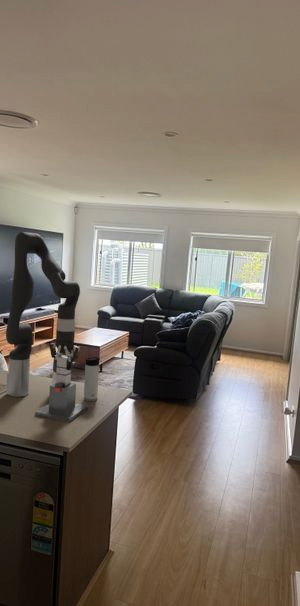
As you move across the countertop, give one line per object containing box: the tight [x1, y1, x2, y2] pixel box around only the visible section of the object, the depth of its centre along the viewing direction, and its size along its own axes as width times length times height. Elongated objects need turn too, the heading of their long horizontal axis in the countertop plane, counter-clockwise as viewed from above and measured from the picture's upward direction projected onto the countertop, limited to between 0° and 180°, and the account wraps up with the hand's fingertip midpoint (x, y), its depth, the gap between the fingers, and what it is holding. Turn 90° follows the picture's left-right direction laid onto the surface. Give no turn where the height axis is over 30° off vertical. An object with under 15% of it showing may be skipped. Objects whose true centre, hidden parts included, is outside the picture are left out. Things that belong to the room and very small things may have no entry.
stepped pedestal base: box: [34, 382, 88, 423], centre depth 175 cm, size 16×16×13 cm
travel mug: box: [83, 356, 101, 402], centre depth 192 cm, size 6×7×20 cm
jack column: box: [56, 355, 72, 387], centre depth 174 cm, size 5×5×18 cm
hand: (63, 368), depth 173 cm, fingers closed on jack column, 4 cm apart
